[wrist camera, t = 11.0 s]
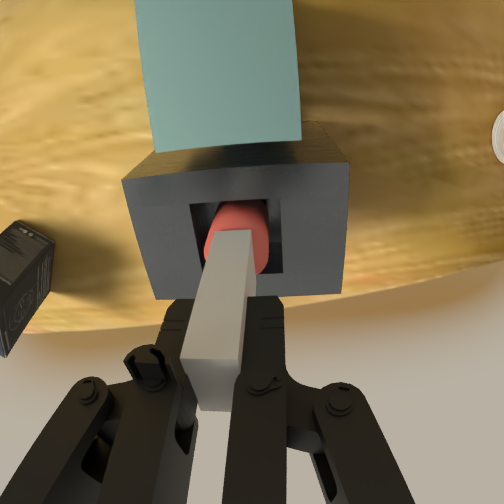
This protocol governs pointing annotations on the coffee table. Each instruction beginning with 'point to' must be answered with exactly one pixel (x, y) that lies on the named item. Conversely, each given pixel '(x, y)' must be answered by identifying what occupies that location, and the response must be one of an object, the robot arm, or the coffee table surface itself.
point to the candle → (498, 137)
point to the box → (22, 279)
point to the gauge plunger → (244, 226)
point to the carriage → (219, 71)
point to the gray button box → (244, 188)
